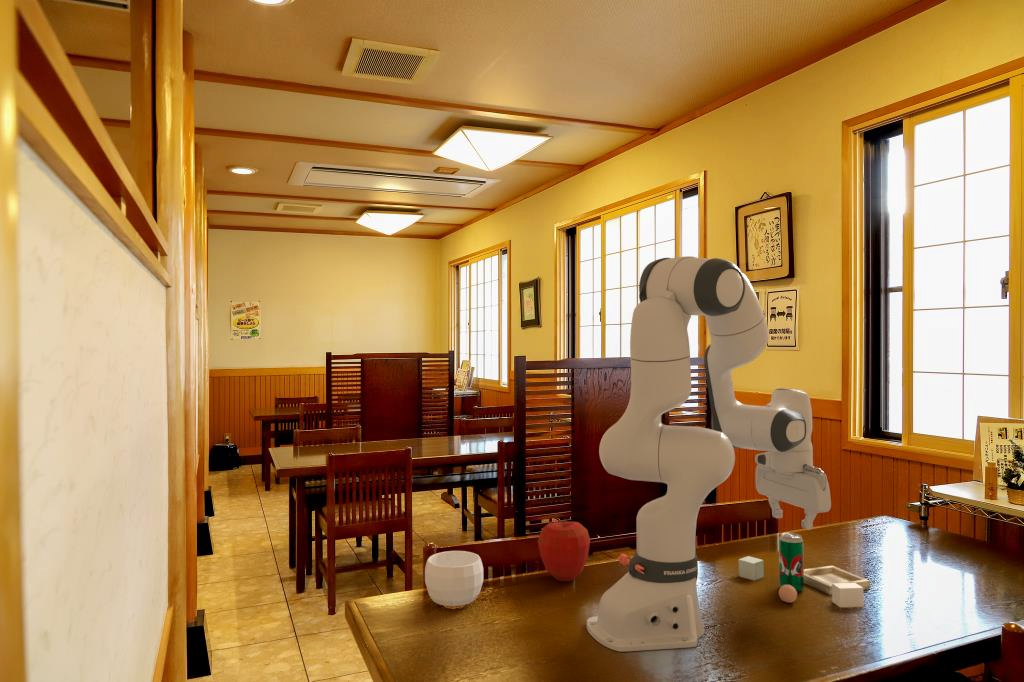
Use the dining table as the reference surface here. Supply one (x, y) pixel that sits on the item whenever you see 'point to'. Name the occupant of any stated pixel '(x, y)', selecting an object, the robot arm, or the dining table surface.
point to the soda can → (791, 561)
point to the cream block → (847, 594)
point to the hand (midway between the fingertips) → (791, 522)
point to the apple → (564, 549)
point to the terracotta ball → (787, 593)
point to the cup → (454, 577)
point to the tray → (831, 578)
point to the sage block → (751, 568)
